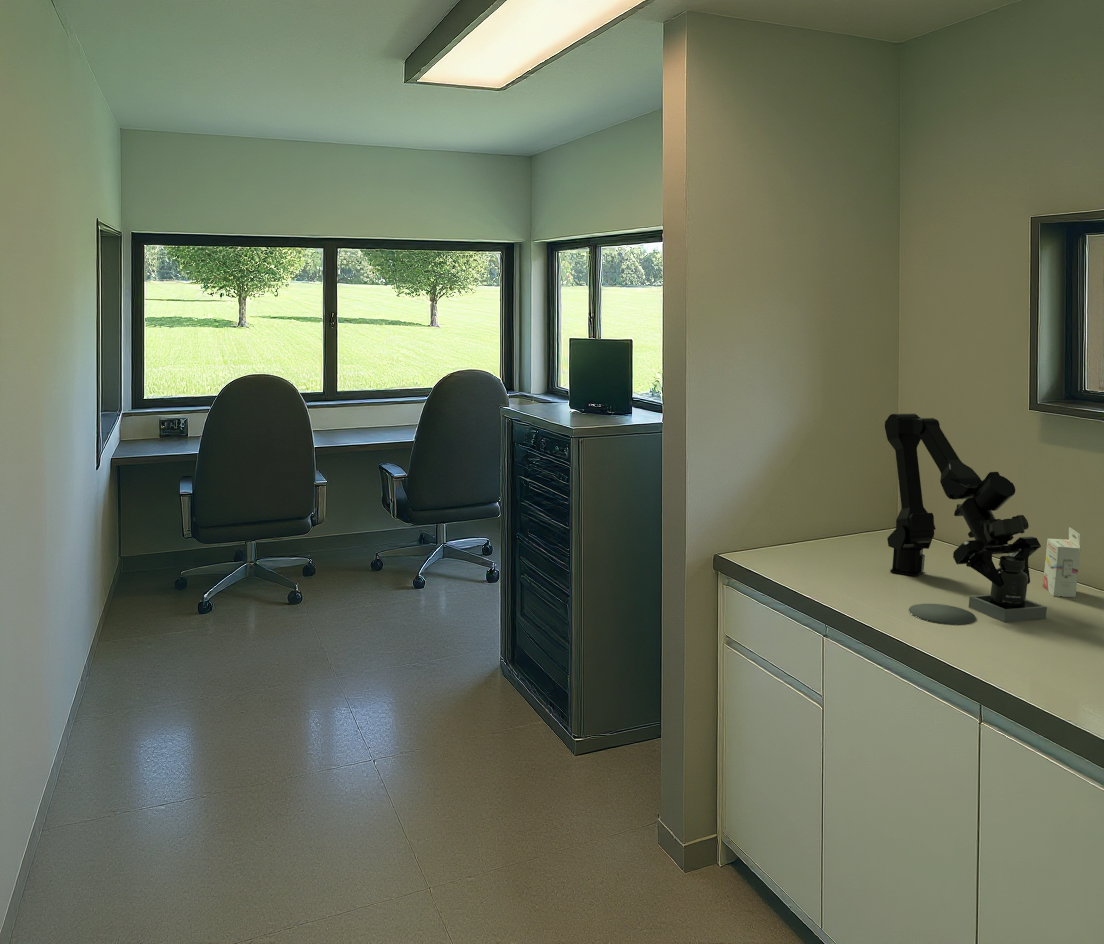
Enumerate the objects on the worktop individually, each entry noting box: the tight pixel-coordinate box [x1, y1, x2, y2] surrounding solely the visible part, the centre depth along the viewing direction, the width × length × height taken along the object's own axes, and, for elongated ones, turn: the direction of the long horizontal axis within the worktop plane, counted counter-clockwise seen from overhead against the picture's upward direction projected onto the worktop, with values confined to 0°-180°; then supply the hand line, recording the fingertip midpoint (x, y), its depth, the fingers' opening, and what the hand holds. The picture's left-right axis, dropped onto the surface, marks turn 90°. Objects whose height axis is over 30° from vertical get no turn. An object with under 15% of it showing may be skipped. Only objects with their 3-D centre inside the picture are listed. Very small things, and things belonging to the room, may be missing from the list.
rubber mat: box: [908, 603, 976, 625], centre depth 201 cm, size 13×13×1 cm
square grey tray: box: [968, 593, 1048, 623], centre depth 203 cm, size 11×11×2 cm
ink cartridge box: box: [1042, 526, 1081, 598], centre depth 218 cm, size 9×5×15 cm, turn 168°
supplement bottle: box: [990, 555, 1029, 609], centre depth 202 cm, size 7×7×12 cm
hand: (1014, 584), depth 200 cm, fingers closed on supplement bottle, 7 cm apart
